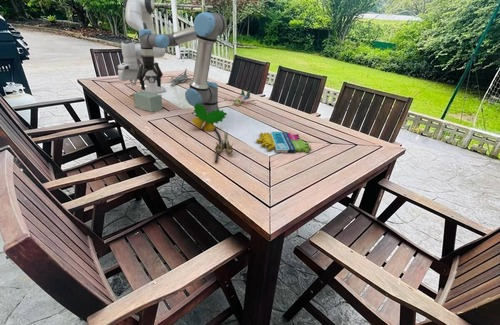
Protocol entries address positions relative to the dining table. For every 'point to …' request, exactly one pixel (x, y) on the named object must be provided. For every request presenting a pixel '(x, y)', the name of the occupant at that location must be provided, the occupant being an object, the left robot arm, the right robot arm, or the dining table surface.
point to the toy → (241, 99)
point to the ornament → (207, 117)
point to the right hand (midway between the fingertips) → (151, 88)
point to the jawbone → (224, 145)
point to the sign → (283, 142)
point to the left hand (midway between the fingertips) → (134, 85)
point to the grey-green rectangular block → (148, 101)
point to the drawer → (133, 97)
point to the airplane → (180, 78)
